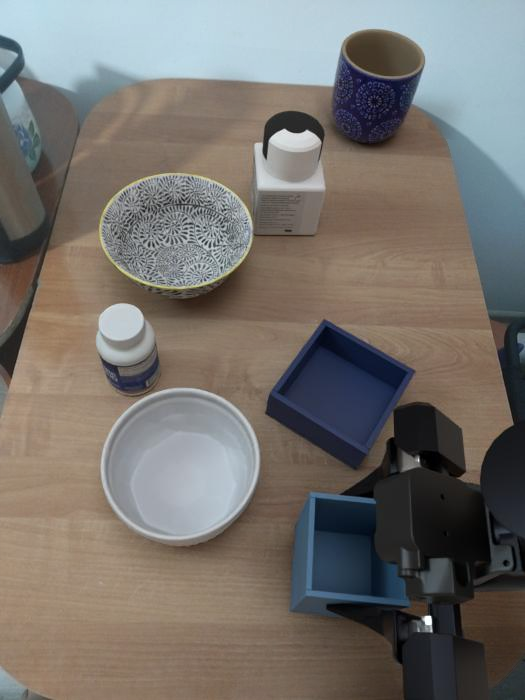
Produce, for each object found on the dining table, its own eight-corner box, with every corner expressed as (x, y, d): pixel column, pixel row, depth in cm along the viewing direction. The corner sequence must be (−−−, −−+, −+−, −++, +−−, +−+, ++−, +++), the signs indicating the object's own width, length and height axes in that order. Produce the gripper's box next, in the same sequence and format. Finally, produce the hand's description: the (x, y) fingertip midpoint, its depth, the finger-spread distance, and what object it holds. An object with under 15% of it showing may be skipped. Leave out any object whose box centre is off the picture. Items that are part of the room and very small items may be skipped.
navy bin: (402, 391, 59) (416, 370, 55) (356, 470, 54) (367, 454, 50) (317, 341, 61) (324, 318, 57) (265, 413, 56) (268, 393, 52)
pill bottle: (102, 359, 58) (83, 304, 50) (153, 345, 59) (143, 290, 51) (114, 404, 56) (96, 354, 47) (167, 388, 57) (159, 338, 48)
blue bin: (373, 533, 49) (406, 501, 41) (375, 621, 46) (410, 606, 37) (294, 525, 49) (310, 491, 41) (289, 612, 45) (305, 595, 37)
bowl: (275, 261, 67) (282, 215, 60) (194, 354, 59) (192, 314, 53) (169, 201, 70) (164, 152, 64) (80, 282, 63) (65, 236, 56)
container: (250, 190, 72) (257, 100, 61) (309, 191, 73) (327, 102, 62) (253, 235, 68) (261, 148, 57) (315, 236, 69) (335, 150, 58)
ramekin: (106, 431, 54) (92, 400, 48) (239, 406, 56) (242, 374, 50) (121, 574, 48) (107, 558, 42) (270, 539, 50) (278, 519, 44)
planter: (315, 108, 82) (328, 32, 72) (382, 99, 84) (404, 24, 75) (342, 158, 77) (360, 83, 67) (413, 147, 79) (441, 73, 69)
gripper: (476, 338, 32) (270, 400, 42) (526, 725, 23) (244, 693, 32) (542, 410, 39) (353, 449, 48) (603, 731, 30) (352, 703, 39)
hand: (330, 554), depth 42 cm, fingers closed on blue bin, 7 cm apart
